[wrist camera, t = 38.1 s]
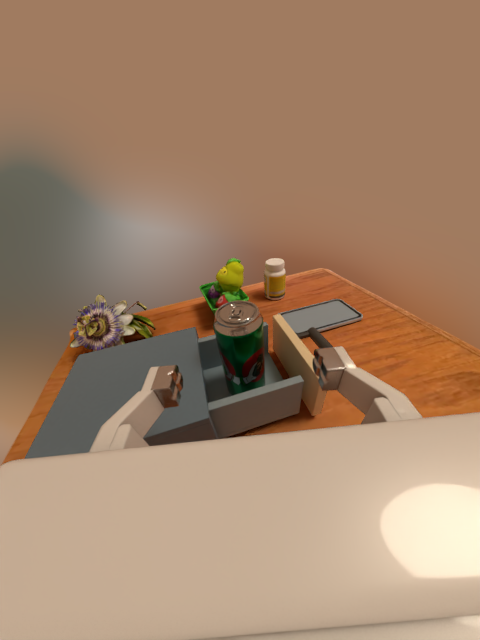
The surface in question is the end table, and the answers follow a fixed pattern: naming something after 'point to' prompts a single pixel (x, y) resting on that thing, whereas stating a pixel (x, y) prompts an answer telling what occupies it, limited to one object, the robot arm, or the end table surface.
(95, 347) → the passion flower
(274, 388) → the drawer
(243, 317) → the soda can
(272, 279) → the supplement bottle
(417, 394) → the end table surface
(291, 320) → the smartphone
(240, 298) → the fruit basket
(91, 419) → the cabinet
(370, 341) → the end table surface
